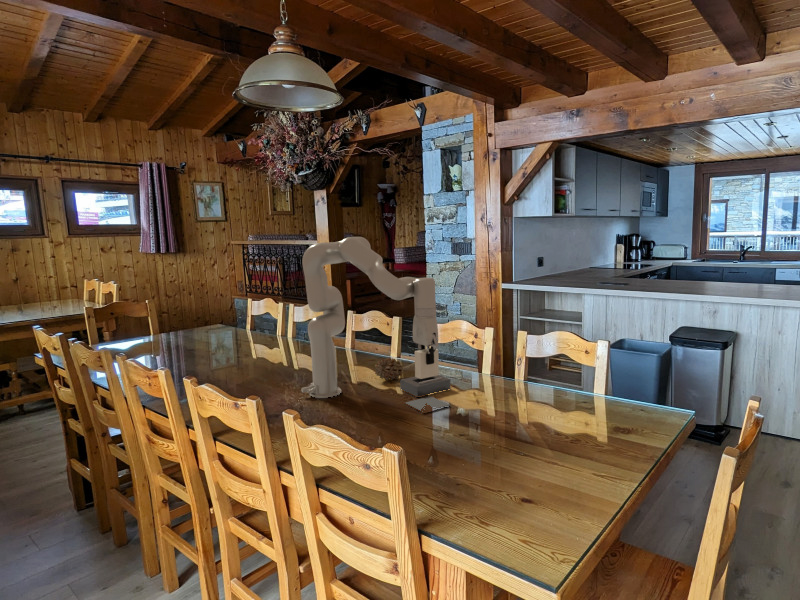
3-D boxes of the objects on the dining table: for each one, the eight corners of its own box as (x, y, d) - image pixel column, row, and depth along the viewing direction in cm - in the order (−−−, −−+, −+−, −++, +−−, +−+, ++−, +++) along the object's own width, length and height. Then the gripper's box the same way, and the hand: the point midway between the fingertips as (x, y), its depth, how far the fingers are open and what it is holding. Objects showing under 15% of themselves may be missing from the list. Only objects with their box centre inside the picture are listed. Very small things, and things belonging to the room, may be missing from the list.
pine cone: (383, 386, 208) (382, 362, 206) (370, 381, 215) (369, 358, 214) (423, 375, 221) (422, 353, 220) (409, 371, 229) (408, 350, 227)
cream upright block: (420, 379, 177) (420, 352, 176) (415, 376, 180) (414, 351, 179) (438, 375, 182) (438, 349, 181) (433, 373, 185) (432, 347, 183)
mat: (423, 414, 174) (423, 412, 174) (404, 404, 184) (404, 402, 184) (450, 406, 181) (450, 404, 181) (430, 398, 191) (430, 396, 191)
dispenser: (417, 398, 191) (417, 385, 191) (400, 390, 201) (400, 378, 201) (450, 390, 200) (450, 377, 199) (432, 383, 210) (432, 371, 209)
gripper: (403, 311, 183) (405, 360, 185) (430, 316, 169) (432, 369, 172) (420, 308, 187) (421, 356, 189) (448, 314, 173) (449, 365, 176)
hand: (426, 362), depth 180 cm, fingers closed on cream upright block, 3 cm apart
